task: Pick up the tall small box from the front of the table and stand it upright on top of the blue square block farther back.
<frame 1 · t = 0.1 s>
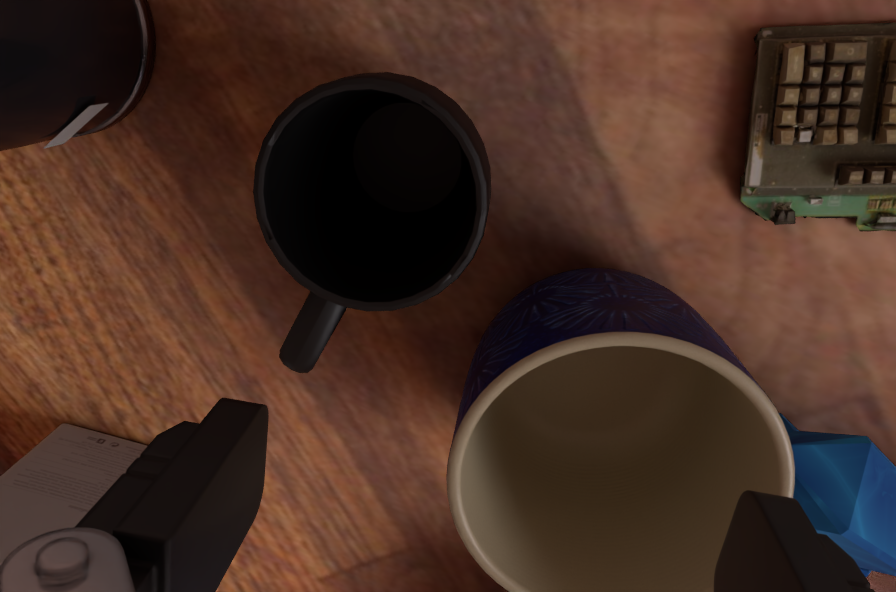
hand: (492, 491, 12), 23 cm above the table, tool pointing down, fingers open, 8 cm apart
planter: (587, 361, 36), on the table
small box: (112, 490, 42), on the table
mug: (389, 191, 34), on the table
crystal: (787, 449, 37), on the table
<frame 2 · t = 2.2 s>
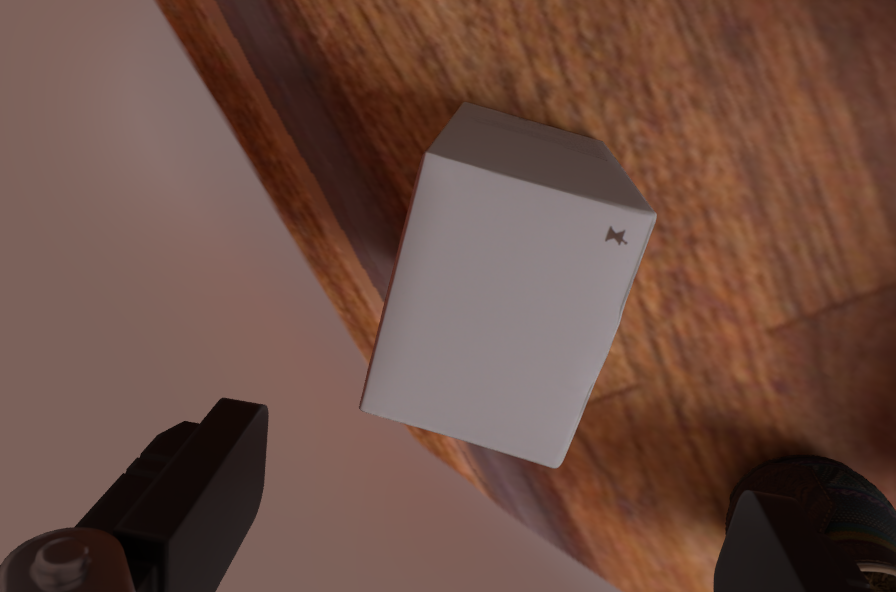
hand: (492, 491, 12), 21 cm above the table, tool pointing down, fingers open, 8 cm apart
small box: (506, 208, 32), on the table
mate gourd: (785, 497, 35), on the table
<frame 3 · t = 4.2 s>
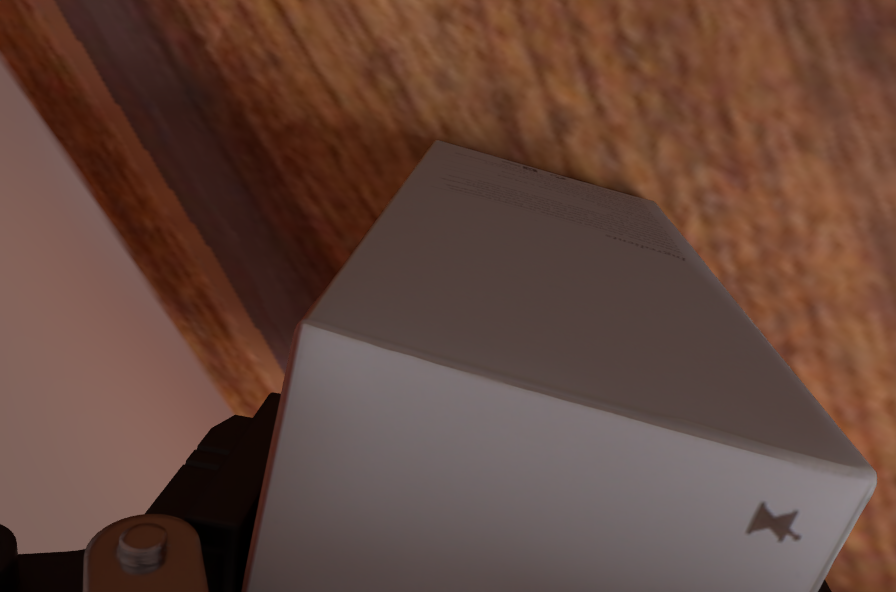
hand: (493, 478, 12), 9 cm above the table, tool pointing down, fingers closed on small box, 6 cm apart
small box: (503, 299, 21), on the table, touching gripper
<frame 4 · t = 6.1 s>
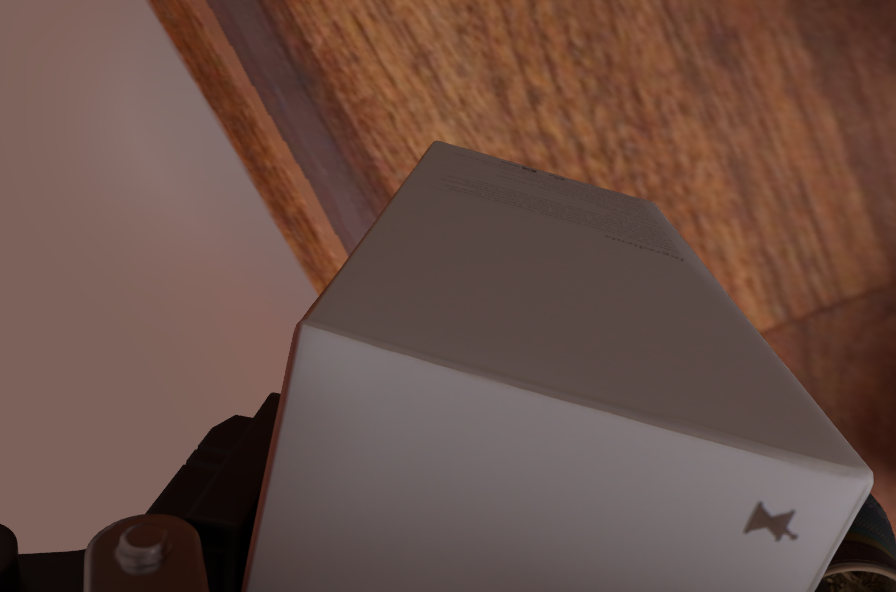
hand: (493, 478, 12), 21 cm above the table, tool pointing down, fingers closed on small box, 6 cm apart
small box: (502, 299, 21), point 12 cm above the table, touching gripper
mate gourd: (776, 500, 36), on the table
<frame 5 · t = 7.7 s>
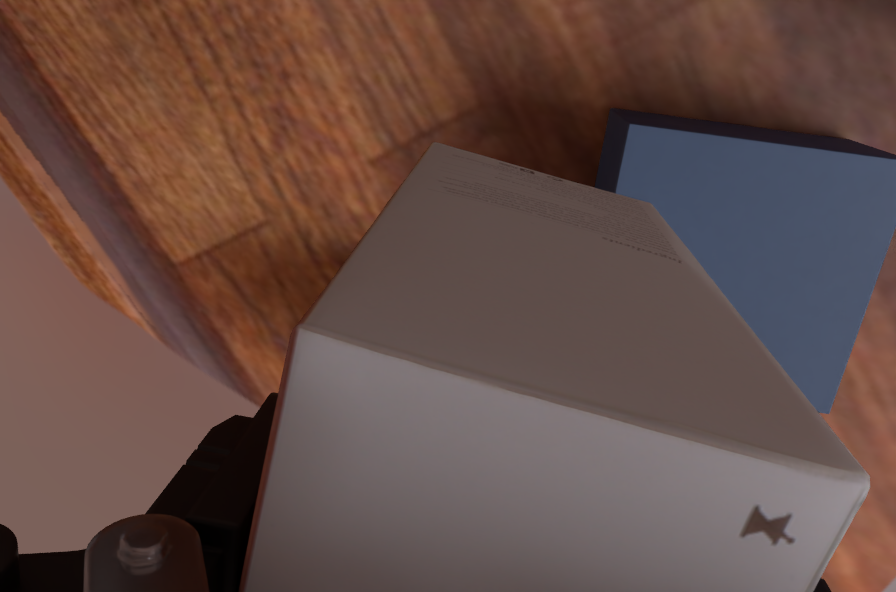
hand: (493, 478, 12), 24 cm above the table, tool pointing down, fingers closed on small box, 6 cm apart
small box: (500, 300, 21), point 15 cm above the table, touching gripper
blue square block: (700, 237, 35), on the table
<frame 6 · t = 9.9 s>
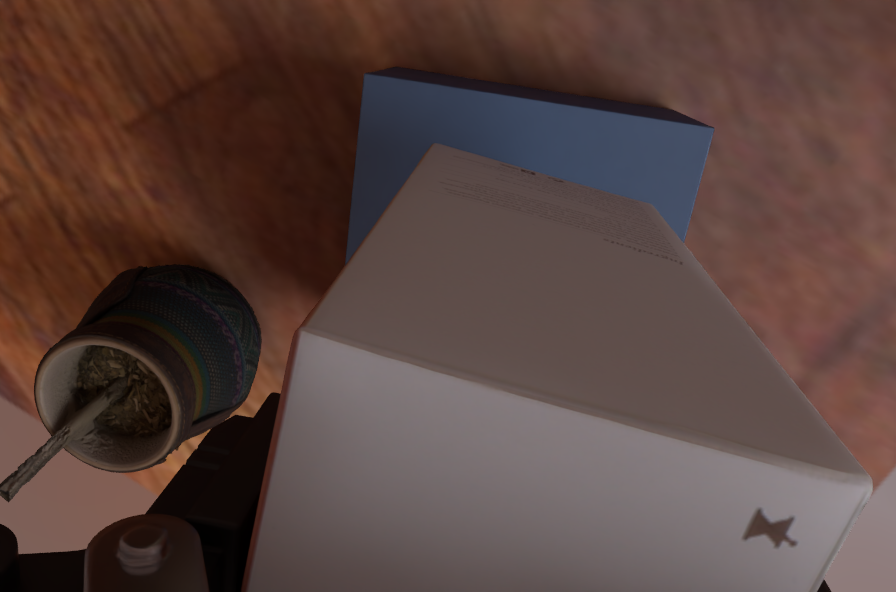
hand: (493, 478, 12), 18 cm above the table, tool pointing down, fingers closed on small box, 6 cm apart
small box: (501, 301, 21), point 10 cm above the table, touching gripper
mate gourd: (201, 324, 33), on the table
blue square block: (509, 224, 30), on the table
when the fingers open (15 cm above the table, at t = 11.6 s): small box stays where it is, resting on blue square block.
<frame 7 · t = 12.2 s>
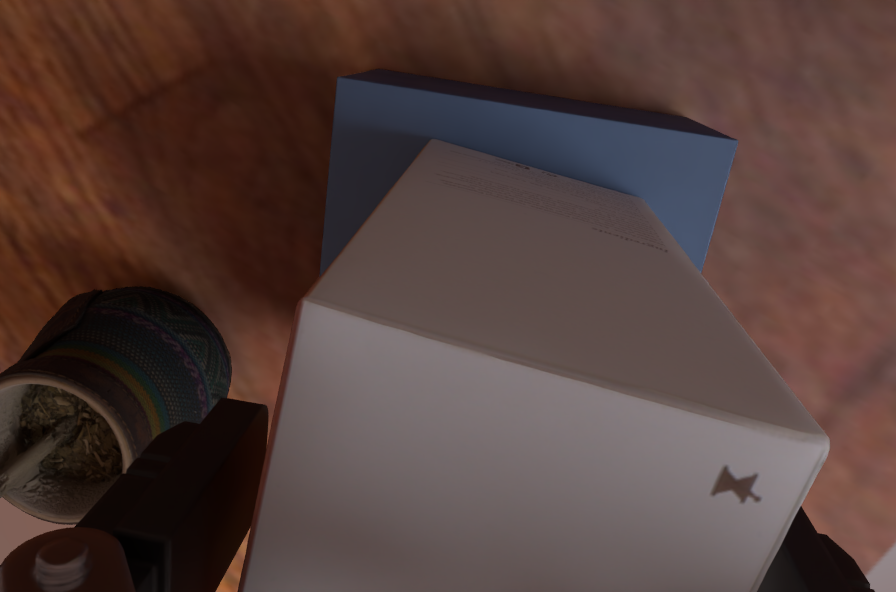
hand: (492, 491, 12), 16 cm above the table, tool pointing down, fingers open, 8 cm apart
small box: (497, 293, 22), point 6 cm above the table, touching blue square block
mate gourd: (167, 350, 30), on the table
blue square block: (504, 243, 27), on the table
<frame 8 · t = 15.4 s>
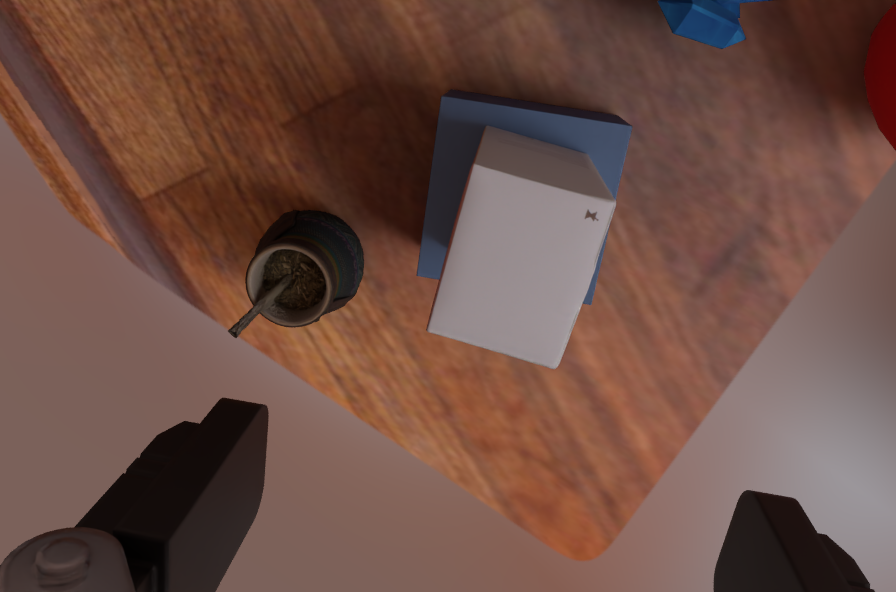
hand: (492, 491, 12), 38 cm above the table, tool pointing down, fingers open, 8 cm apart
small box: (517, 203, 43), point 6 cm above the table, touching blue square block
mate gourd: (321, 251, 52), on the table
blue square block: (518, 185, 49), on the table
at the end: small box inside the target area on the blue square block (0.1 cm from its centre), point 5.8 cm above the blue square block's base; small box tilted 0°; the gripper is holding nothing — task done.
